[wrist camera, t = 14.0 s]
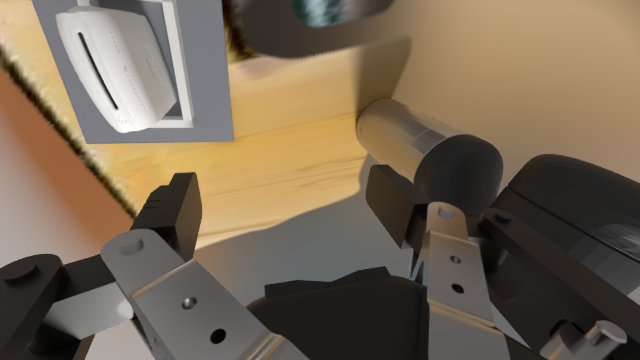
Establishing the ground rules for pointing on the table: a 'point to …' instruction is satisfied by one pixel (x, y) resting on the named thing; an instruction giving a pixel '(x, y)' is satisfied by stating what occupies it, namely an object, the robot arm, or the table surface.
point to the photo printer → (118, 65)
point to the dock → (182, 62)
